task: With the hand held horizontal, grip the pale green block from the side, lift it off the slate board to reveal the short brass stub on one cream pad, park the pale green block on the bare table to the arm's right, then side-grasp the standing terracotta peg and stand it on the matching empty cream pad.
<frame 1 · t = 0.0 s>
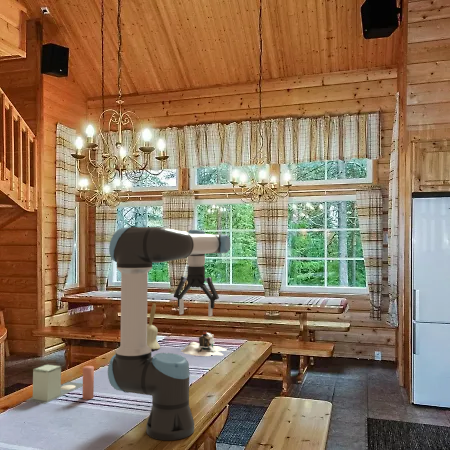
hand: (195, 315, 198), 28 cm above the table, tool pointing down, fingers open, 13 cm apart
peg: (88, 399, 174), on the table
handbell: (146, 348, 254), on the table
pale green block: (46, 396, 174), point 1 cm above the table, touching board
cabin: (207, 352, 250), on the table
board: (57, 393, 180), on the table
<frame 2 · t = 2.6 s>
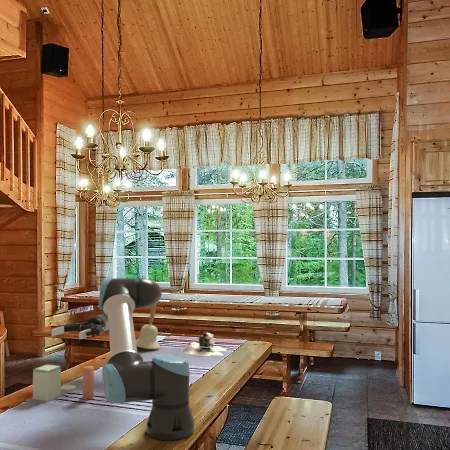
hand: (65, 334, 184), 22 cm above the table, tool horizontal, fingers open, 13 cm apart
nothing on the table moved.
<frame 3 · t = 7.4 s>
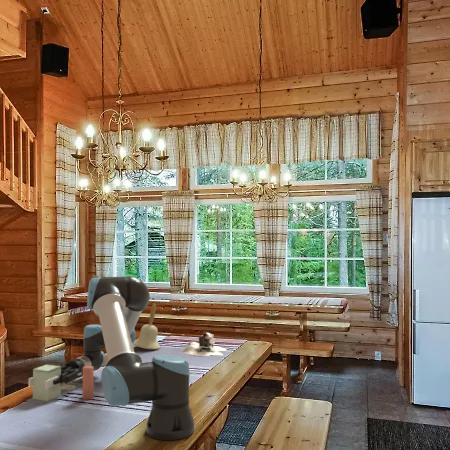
hand: (37, 383, 170), 7 cm above the table, tool horizontal, fingers closed on pale green block, 7 cm apart
pale green block: (46, 396, 174), point 1 cm above the table, touching board, gripper
everything else where it was.
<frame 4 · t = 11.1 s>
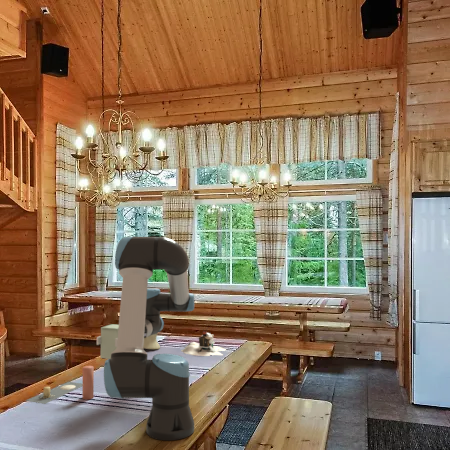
hand: (106, 341, 164), 24 cm above the table, tool horizontal, fingers closed on pale green block, 7 cm apart
pale green block: (114, 356, 169), point 18 cm above the table, touching gripper
everything else where it was.
when the fingers open (8 cm above the table, at t = 15.0 s): pale green block drops 1 cm, on the table.
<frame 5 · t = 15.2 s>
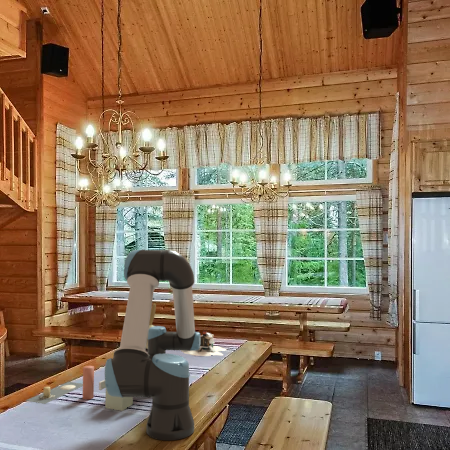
hand: (112, 387, 163), 8 cm above the table, tool horizontal, fingers open, 10 cm apart
pale green block: (119, 406, 167), on the table
everything else where it was.
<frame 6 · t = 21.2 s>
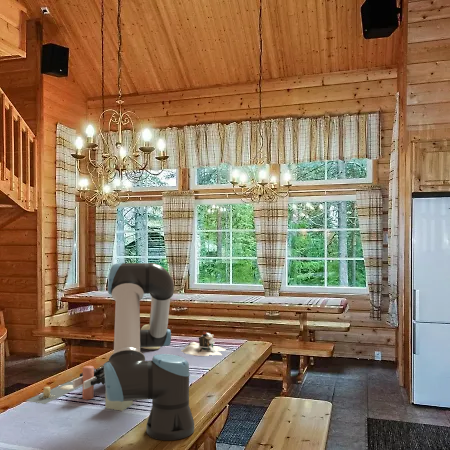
hand: (79, 384, 169), 7 cm above the table, tool horizontal, fingers closed on peg, 4 cm apart
peg: (87, 399, 174), on the table, touching gripper
everything else where it was.
when the fingers open (9 cm above the table, at t = 26.5 s): peg drops 1 cm, resting on board.
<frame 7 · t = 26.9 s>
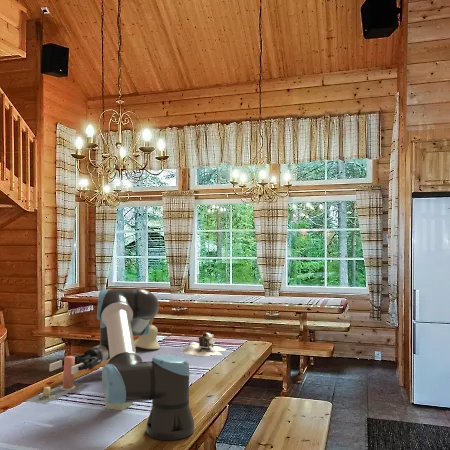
hand: (60, 369, 182), 9 cm above the table, tool horizontal, fingers open, 10 cm apart
peg: (68, 387, 186), point 1 cm above the table, touching board
everything else where it was.
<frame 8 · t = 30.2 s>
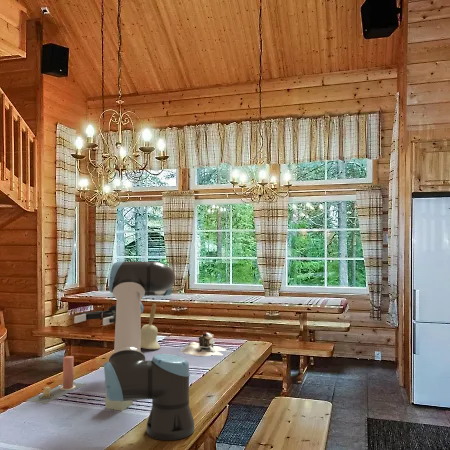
hand: (89, 320, 183), 28 cm above the table, tool horizontal, fingers open, 13 cm apart
nothing on the table moved.
at the end: peg 0.1 cm from the target spot on the board, point 0.6 cm above the board's base; peg tilted 0°; pale green block moved 30.2 cm from its start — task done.
